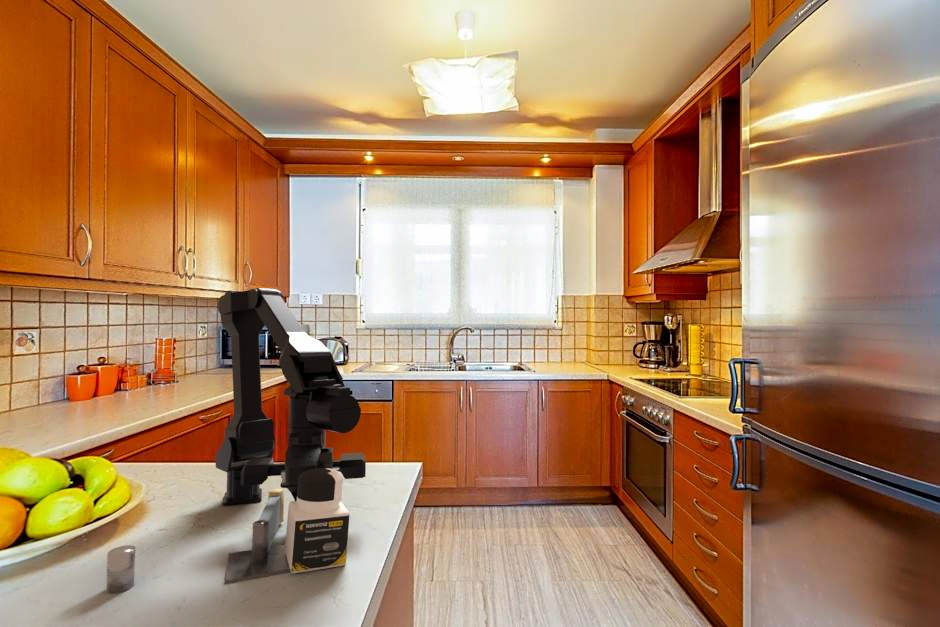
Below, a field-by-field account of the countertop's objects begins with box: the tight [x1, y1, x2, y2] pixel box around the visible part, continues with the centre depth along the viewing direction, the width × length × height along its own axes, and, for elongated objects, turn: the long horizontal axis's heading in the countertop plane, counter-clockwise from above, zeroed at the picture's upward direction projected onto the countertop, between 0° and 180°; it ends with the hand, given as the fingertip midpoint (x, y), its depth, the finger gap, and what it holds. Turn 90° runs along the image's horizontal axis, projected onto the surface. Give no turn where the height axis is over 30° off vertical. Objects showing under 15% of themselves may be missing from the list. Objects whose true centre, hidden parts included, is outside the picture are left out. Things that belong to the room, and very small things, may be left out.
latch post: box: [105, 544, 136, 594], centre depth 59 cm, size 3×3×4 cm
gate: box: [257, 488, 285, 552], centre depth 74 cm, size 13×2×5 cm, turn 14°
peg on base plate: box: [224, 519, 291, 584], centre depth 66 cm, size 8×8×6 cm
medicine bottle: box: [284, 468, 350, 574], centre depth 67 cm, size 7×7×12 cm
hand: (305, 521), depth 77 cm, fingers closed
